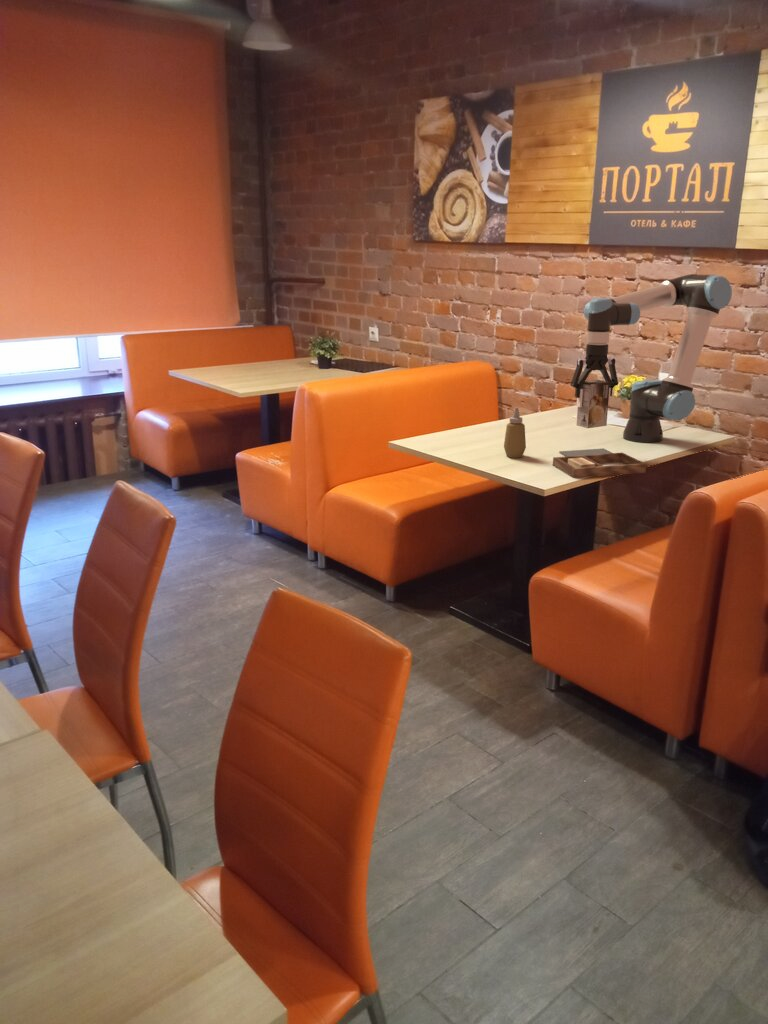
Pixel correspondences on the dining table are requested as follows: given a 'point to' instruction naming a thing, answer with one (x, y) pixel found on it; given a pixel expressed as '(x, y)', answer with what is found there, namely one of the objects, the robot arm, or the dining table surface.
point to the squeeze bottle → (515, 436)
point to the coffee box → (593, 404)
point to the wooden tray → (600, 470)
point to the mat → (584, 452)
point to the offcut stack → (580, 463)
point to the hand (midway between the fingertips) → (592, 405)
